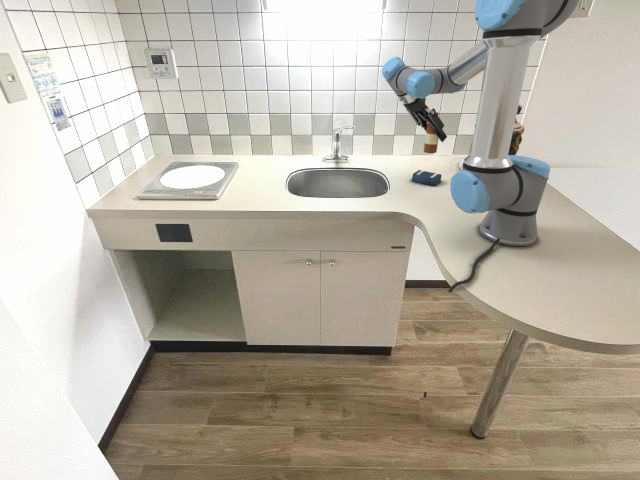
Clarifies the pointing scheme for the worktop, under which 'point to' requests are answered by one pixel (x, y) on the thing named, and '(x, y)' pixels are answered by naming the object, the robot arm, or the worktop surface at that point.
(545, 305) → the worktop surface
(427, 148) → the bottle
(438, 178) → the towel
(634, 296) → the worktop surface
